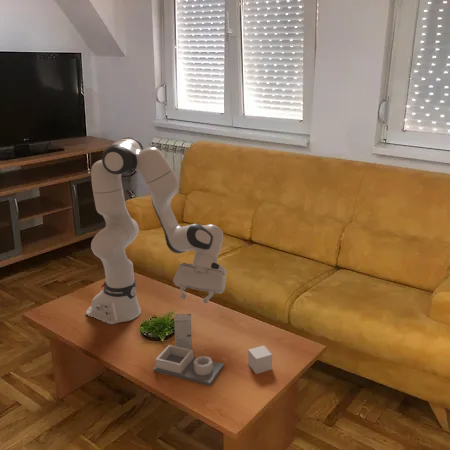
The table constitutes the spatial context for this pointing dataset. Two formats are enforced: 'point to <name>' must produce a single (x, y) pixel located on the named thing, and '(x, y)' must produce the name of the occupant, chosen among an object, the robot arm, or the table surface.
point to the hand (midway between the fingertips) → (193, 300)
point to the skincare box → (183, 331)
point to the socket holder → (187, 365)
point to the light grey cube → (260, 359)
